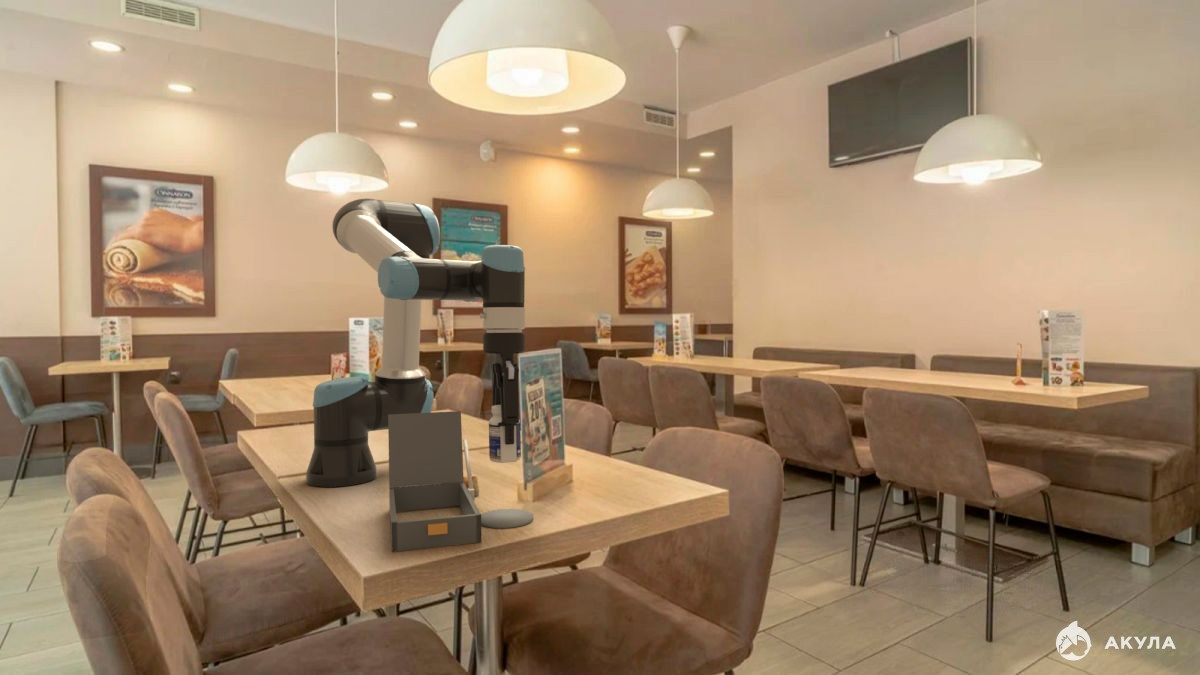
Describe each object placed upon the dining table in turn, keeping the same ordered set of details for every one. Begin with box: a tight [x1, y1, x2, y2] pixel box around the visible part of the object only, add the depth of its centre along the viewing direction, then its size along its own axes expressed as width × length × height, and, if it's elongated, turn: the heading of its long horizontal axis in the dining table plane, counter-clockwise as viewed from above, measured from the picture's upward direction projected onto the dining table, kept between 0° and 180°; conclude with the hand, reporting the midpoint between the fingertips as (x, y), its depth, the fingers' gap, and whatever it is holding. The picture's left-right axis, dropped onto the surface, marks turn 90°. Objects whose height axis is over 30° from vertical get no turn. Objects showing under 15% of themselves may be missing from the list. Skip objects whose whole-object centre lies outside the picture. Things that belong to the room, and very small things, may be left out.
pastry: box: [442, 475, 480, 497], centre depth 139 cm, size 9×7×4 cm
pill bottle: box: [488, 405, 522, 464], centre depth 120 cm, size 6×6×10 cm
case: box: [387, 410, 482, 553], centre depth 119 cm, size 29×15×18 cm, turn 19°
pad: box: [481, 508, 534, 529], centre depth 121 cm, size 10×10×1 cm
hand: (505, 458), depth 120 cm, fingers closed on pill bottle, 6 cm apart
